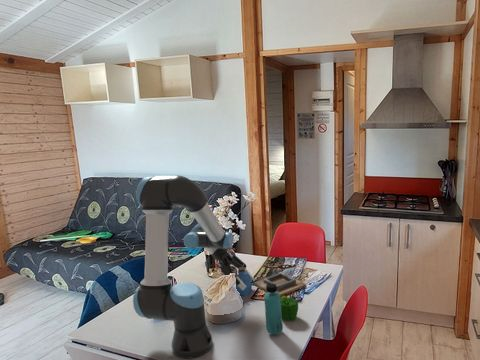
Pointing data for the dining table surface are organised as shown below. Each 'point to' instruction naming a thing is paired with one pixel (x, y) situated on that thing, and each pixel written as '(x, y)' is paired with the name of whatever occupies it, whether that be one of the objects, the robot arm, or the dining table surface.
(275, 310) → the beverage bottle
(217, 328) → the dining table surface
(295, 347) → the dining table surface
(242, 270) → the perfume bottle
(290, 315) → the bell pepper
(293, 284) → the walnut stand
